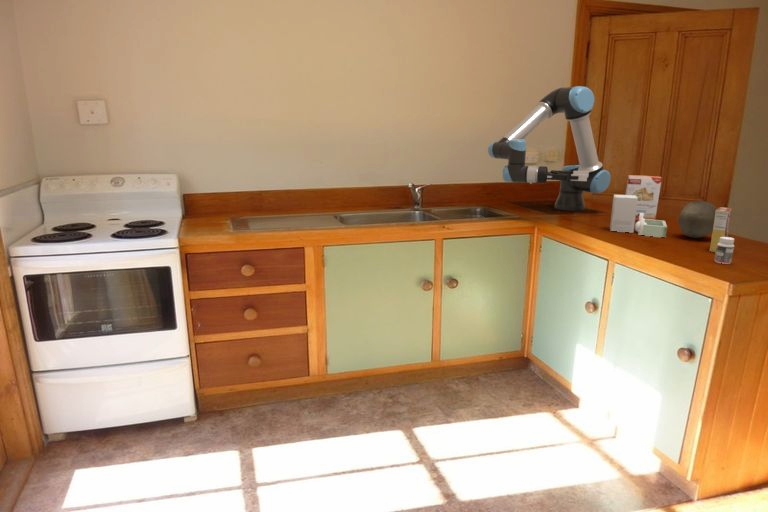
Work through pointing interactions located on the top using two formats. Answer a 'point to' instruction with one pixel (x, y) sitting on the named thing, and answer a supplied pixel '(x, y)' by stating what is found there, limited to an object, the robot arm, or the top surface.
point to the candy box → (720, 226)
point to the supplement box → (623, 213)
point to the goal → (652, 227)
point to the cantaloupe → (697, 219)
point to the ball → (638, 226)
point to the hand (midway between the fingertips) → (587, 176)
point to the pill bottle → (724, 250)
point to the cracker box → (644, 194)
